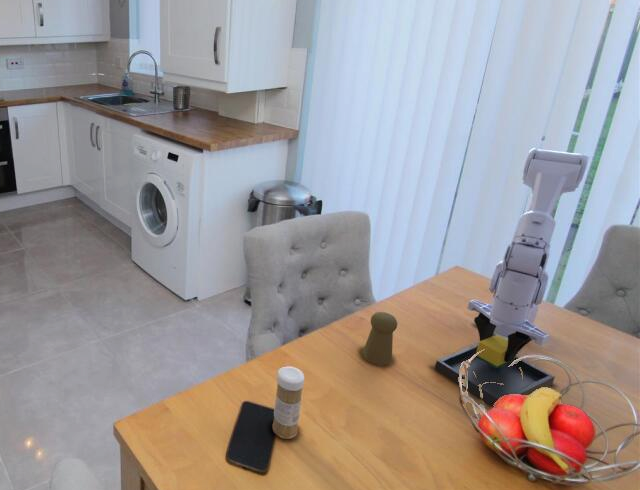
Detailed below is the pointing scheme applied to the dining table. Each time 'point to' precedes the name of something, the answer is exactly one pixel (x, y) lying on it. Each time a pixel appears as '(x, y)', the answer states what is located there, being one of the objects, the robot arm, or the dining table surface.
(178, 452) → the dining table surface
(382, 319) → the olive pawn
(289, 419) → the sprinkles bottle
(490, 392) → the tray
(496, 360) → the sponge
